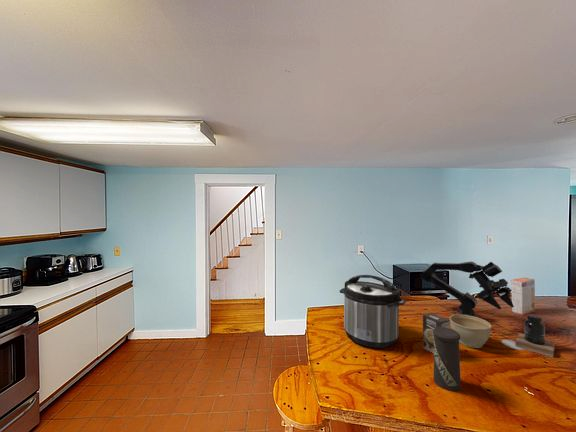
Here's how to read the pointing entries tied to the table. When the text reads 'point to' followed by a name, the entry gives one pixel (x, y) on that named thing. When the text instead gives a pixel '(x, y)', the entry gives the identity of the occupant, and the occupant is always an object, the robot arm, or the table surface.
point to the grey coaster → (511, 344)
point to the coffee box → (428, 325)
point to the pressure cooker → (371, 311)
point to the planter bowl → (471, 330)
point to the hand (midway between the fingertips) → (506, 308)
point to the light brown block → (536, 346)
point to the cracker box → (523, 295)
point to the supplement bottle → (534, 330)
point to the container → (446, 358)
